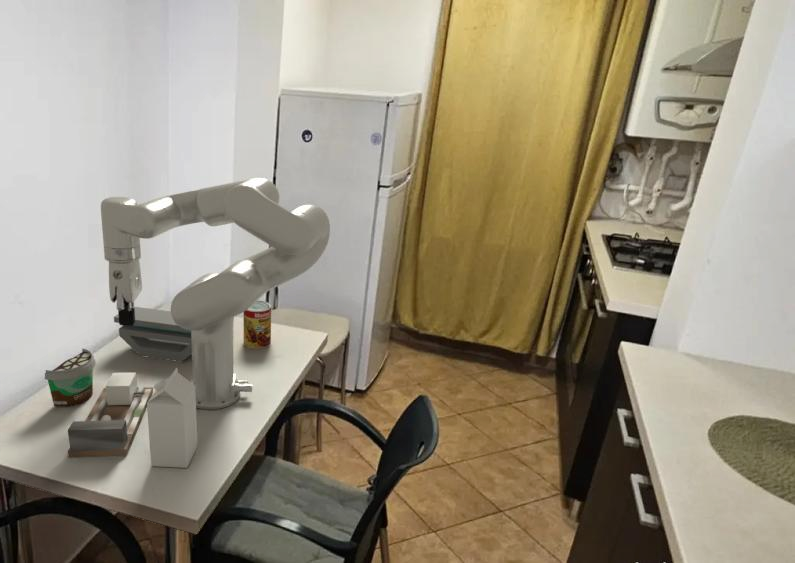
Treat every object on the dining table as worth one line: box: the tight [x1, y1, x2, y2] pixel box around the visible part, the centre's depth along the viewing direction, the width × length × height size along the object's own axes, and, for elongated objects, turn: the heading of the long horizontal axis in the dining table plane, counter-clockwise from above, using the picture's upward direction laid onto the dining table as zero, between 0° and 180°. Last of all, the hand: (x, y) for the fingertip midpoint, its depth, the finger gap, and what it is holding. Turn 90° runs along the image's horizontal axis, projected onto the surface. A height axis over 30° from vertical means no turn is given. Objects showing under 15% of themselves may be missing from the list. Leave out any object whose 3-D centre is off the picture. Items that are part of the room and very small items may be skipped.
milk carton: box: [146, 367, 198, 469], centre depth 112 cm, size 7×7×19 cm
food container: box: [44, 348, 96, 408], centre depth 130 cm, size 12×6×10 cm, turn 168°
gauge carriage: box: [105, 372, 145, 405], centre depth 130 cm, size 7×7×5 cm
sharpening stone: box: [113, 306, 192, 362], centre depth 154 cm, size 25×8×11 cm, turn 84°
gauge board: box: [67, 385, 154, 458], centre depth 124 cm, size 24×11×6 cm, turn 11°
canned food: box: [243, 300, 272, 350], centre depth 164 cm, size 8×8×12 cm
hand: (127, 323), depth 134 cm, fingers closed
